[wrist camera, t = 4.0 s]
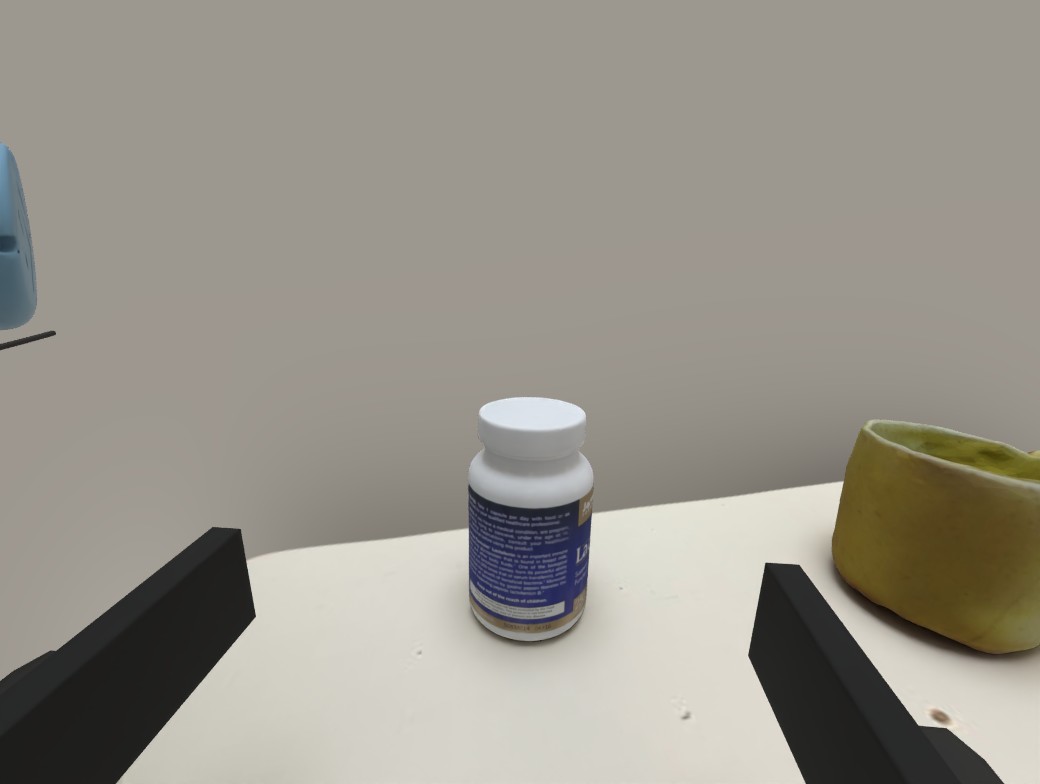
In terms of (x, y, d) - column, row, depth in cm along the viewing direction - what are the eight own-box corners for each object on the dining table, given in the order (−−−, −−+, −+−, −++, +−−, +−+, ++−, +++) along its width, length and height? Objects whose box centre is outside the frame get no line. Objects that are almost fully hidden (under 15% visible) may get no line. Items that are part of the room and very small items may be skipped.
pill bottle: (602, 638, 22) (618, 430, 19) (474, 655, 21) (471, 439, 18) (567, 559, 27) (575, 389, 24) (464, 570, 26) (461, 393, 23)
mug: (940, 667, 18) (984, 405, 18) (776, 571, 28) (806, 403, 29) (1232, 720, 19) (1270, 466, 19) (969, 607, 29) (996, 444, 29)
